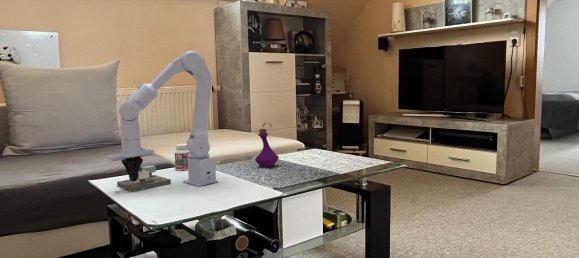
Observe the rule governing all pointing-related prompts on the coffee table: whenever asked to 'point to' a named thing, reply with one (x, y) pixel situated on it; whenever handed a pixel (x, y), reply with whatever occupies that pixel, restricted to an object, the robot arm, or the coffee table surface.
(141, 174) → the cream fader
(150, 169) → the teal fader
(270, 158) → the perfume bottle
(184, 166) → the pill bottle
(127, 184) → the mixer panel
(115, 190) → the coffee table surface
